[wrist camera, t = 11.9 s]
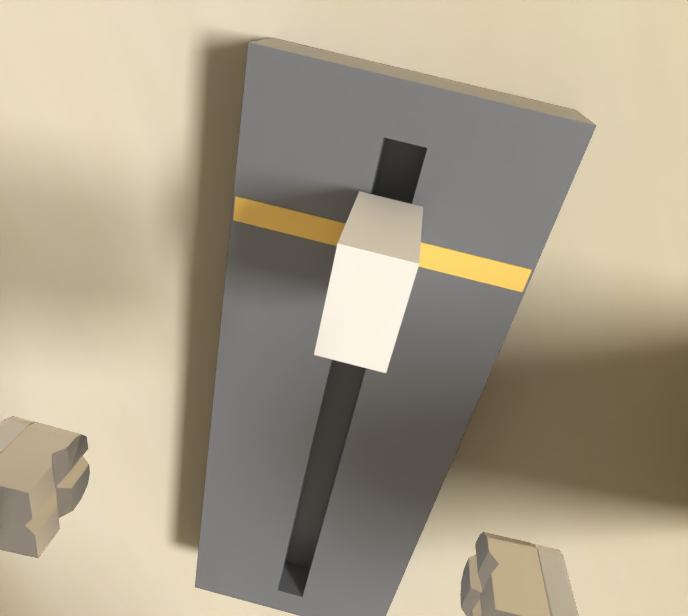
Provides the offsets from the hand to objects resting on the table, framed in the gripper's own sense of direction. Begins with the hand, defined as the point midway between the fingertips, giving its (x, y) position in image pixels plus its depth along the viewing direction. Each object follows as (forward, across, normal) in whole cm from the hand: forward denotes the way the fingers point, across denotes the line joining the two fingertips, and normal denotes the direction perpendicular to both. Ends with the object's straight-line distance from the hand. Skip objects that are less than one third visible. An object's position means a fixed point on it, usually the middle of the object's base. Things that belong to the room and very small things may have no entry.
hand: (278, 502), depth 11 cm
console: (+15, -1, +9) cm, 18 cm away
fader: (+14, -1, -1) cm, 14 cm away
